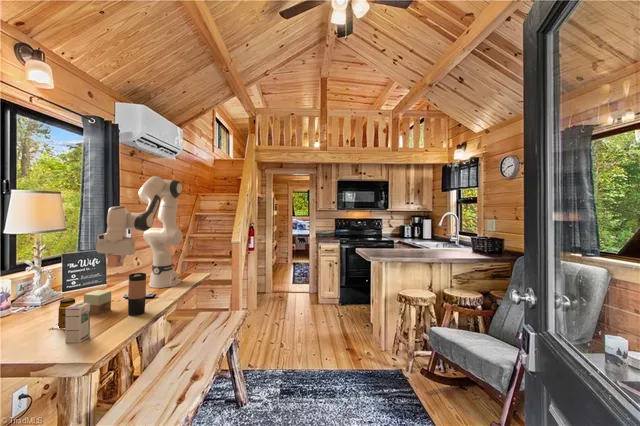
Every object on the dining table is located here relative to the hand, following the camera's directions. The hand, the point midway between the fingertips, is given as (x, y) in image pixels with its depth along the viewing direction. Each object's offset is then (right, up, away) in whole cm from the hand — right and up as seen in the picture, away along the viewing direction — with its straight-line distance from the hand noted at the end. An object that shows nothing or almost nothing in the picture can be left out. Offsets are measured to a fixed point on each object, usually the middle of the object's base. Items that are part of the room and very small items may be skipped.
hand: (115, 262), depth 162 cm
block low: (-4, -24, -8) cm, 26 cm away
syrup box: (+11, -26, -39) cm, 48 cm away
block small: (0, -2, 0) cm, 2 cm away
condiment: (-5, -25, -26) cm, 36 cm away
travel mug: (+16, -25, -8) cm, 31 cm away
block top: (-3, -19, -8) cm, 21 cm away
